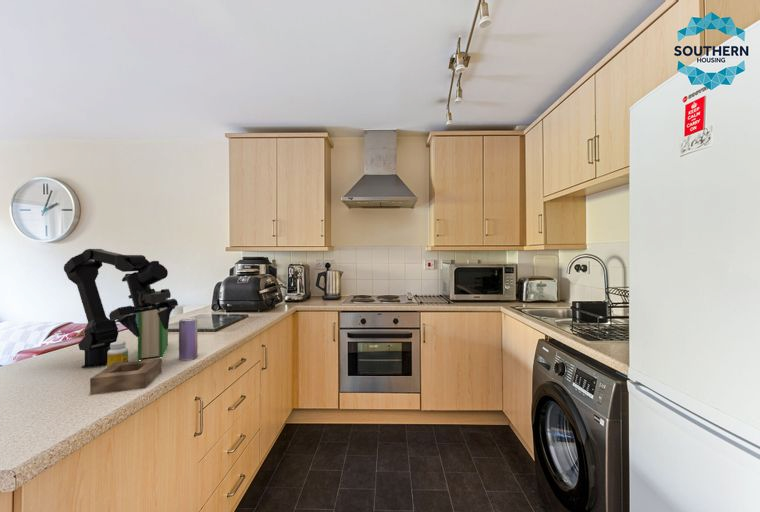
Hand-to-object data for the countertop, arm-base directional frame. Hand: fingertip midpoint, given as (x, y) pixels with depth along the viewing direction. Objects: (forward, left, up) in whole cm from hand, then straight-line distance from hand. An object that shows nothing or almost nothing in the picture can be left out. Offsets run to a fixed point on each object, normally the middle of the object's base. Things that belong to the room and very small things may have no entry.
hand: (153, 332), depth 101 cm
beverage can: (+8, +11, -13) cm, 19 cm away
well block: (-3, -8, -13) cm, 16 cm away
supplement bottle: (-11, +4, -13) cm, 18 cm away
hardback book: (-7, +23, -13) cm, 28 cm away
